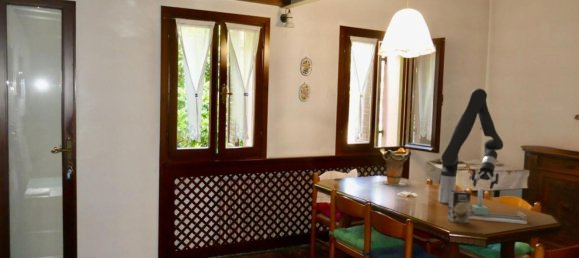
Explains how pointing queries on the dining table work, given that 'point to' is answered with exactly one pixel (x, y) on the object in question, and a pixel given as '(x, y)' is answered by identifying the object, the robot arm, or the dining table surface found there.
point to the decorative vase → (395, 165)
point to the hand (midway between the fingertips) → (482, 187)
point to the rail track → (500, 217)
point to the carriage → (480, 204)
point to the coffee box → (459, 206)
